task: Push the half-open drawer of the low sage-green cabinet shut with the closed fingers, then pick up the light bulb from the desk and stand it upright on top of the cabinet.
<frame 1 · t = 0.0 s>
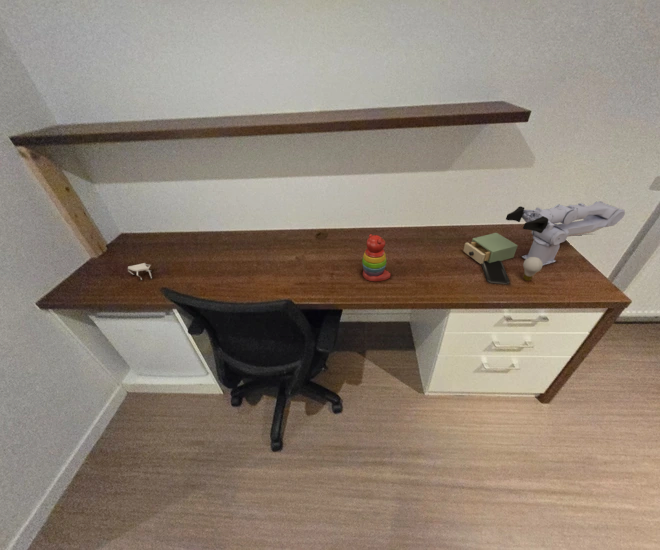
hand: (515, 221, 106), 22 cm above the table, tool horizontal, fingers open, 7 cm apart
drawer: (482, 250, 126), point 3 cm above the table, slide at 2.8 cm
cabinet: (490, 253, 129), on the table
light bulb: (526, 280, 114), on the table
stacking bear: (374, 274, 122), on the table
phone: (494, 273, 119), on the table
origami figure: (142, 275, 132), on the table
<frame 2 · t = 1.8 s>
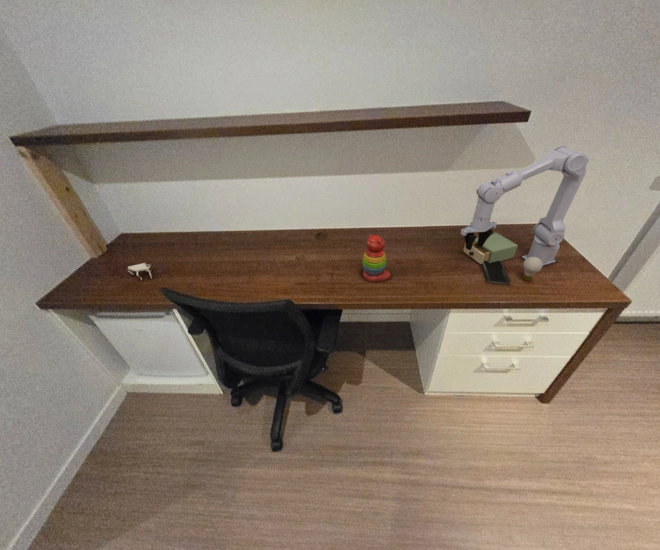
hand: (473, 247, 119), 8 cm above the table, tool pointing down, fingers open, 5 cm apart
nothing on the table moved.
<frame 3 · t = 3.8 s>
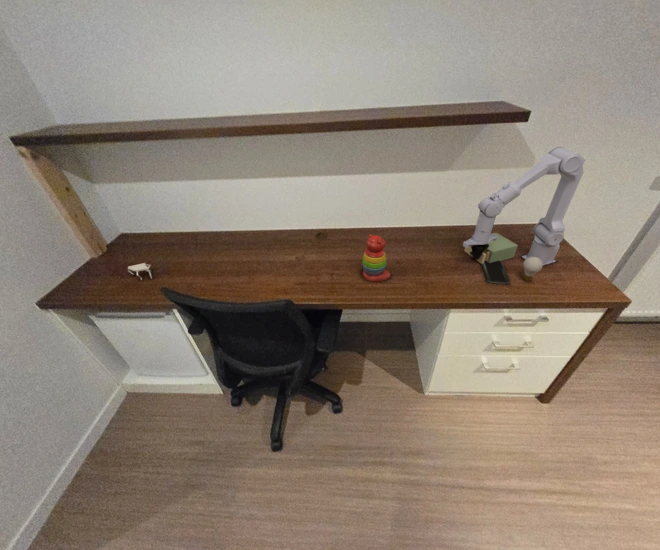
hand: (475, 258, 123), 2 cm above the table, tool pointing down, fingers closed
drawer: (483, 250, 126), point 3 cm above the table, slide at 2.3 cm, touching gripper
everything else where it was.
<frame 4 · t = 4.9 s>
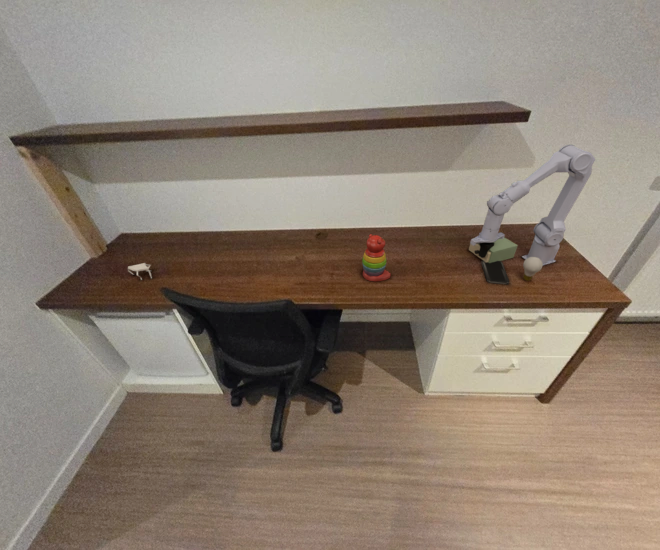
hand: (482, 256, 123), 3 cm above the table, tool pointing down, fingers closed, pressing on drawer
drawer: (488, 249, 127), point 3 cm above the table, slide at 0.0 cm, touching cabinet, gripper
everything else where it was.
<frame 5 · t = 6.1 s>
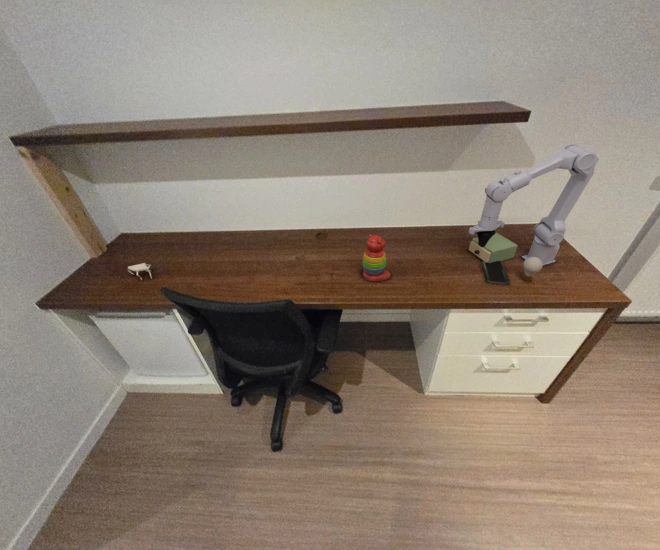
hand: (481, 246, 120), 8 cm above the table, tool pointing down, fingers closed
drawer: (488, 249, 127), point 3 cm above the table, slide at 0.0 cm, touching cabinet
everything else where it was.
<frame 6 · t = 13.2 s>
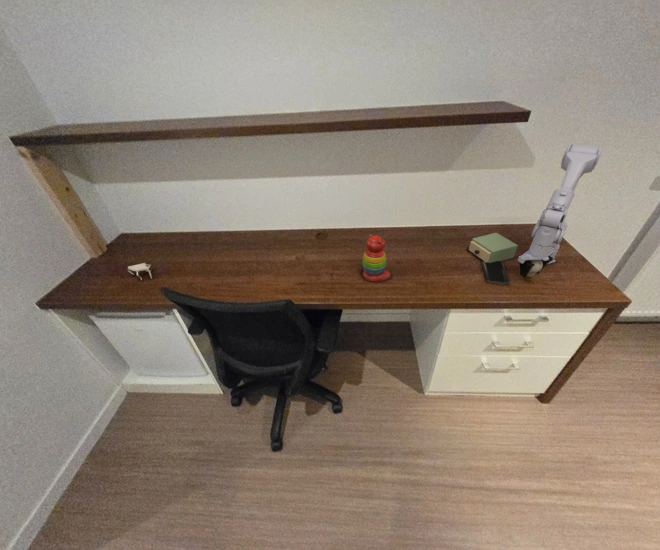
hand: (528, 273, 112), 3 cm above the table, tool pointing down, fingers closed on light bulb, 5 cm apart
light bulb: (526, 280, 114), on the table, touching gripper
everything else where it was.
when the fingers open (9 cm above the table, at t = 17.4 s): light bulb stays where it is, resting on cabinet.
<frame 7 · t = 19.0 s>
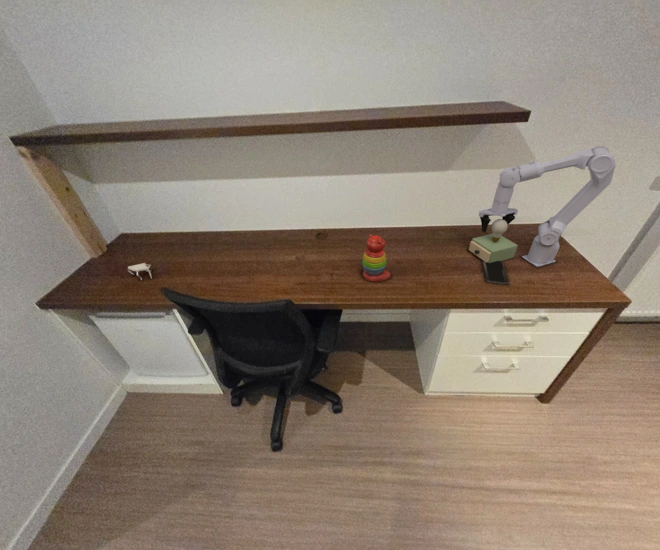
hand: (492, 231, 125), 10 cm above the table, tool pointing down, fingers open, 7 cm apart
light bulb: (494, 242, 126), point 6 cm above the table, touching cabinet
everything else where it was.
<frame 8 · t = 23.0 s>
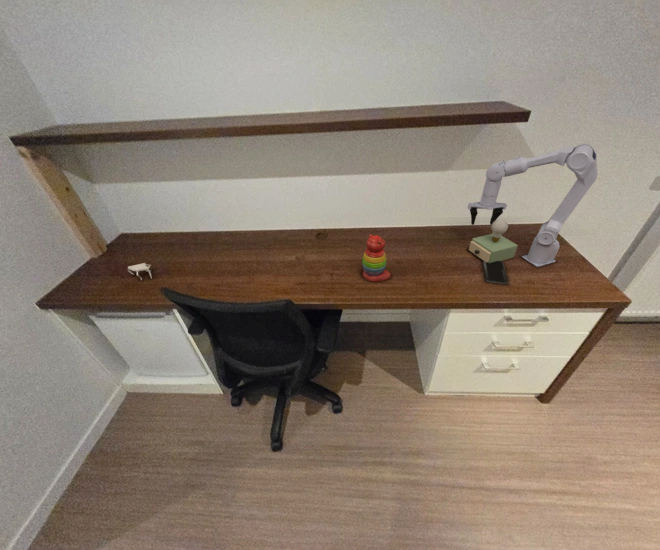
hand: (481, 224, 130), 10 cm above the table, tool pointing down, fingers open, 7 cm apart
nothing on the table moved.
at the end: drawer slide at 0.0 cm; light bulb inside the target area on the cabinet (0.0 cm from its centre), point 5.8 cm above the cabinet's base; light bulb tilted 0° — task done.
